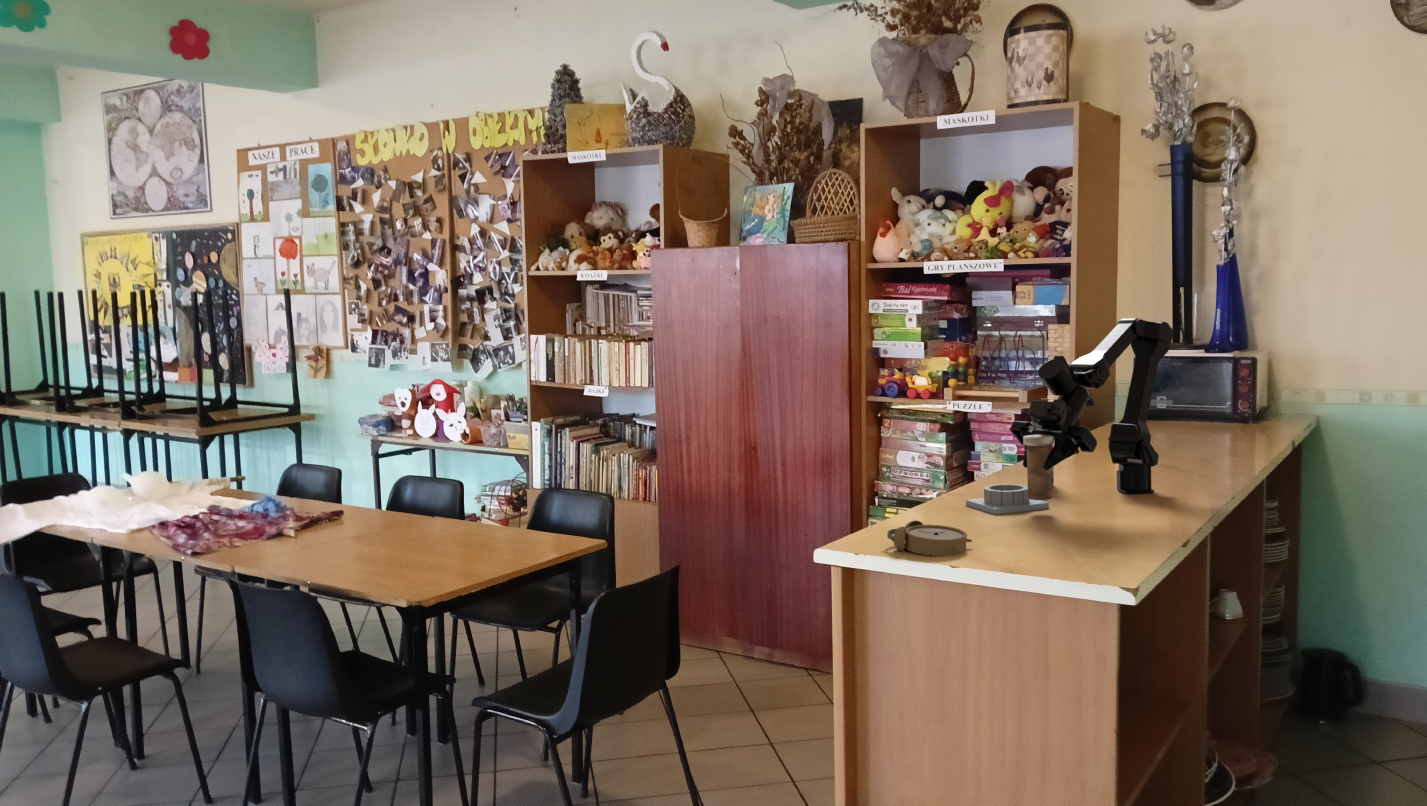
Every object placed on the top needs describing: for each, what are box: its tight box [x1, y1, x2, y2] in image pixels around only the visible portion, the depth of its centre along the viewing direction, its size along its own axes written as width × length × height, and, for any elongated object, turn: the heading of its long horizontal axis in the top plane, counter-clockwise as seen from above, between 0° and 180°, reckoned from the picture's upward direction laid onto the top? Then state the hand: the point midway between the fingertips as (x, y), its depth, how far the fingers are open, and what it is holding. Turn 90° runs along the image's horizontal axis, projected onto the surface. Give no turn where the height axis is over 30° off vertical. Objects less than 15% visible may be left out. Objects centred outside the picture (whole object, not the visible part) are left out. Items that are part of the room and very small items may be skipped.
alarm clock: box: [886, 520, 973, 557], centre depth 199 cm, size 11×5×15 cm
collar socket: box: [965, 483, 1050, 516], centre depth 233 cm, size 13×12×4 cm
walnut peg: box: [1023, 435, 1055, 501], centre depth 224 cm, size 6×6×13 cm
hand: (1034, 467), depth 223 cm, fingers closed on walnut peg, 5 cm apart
